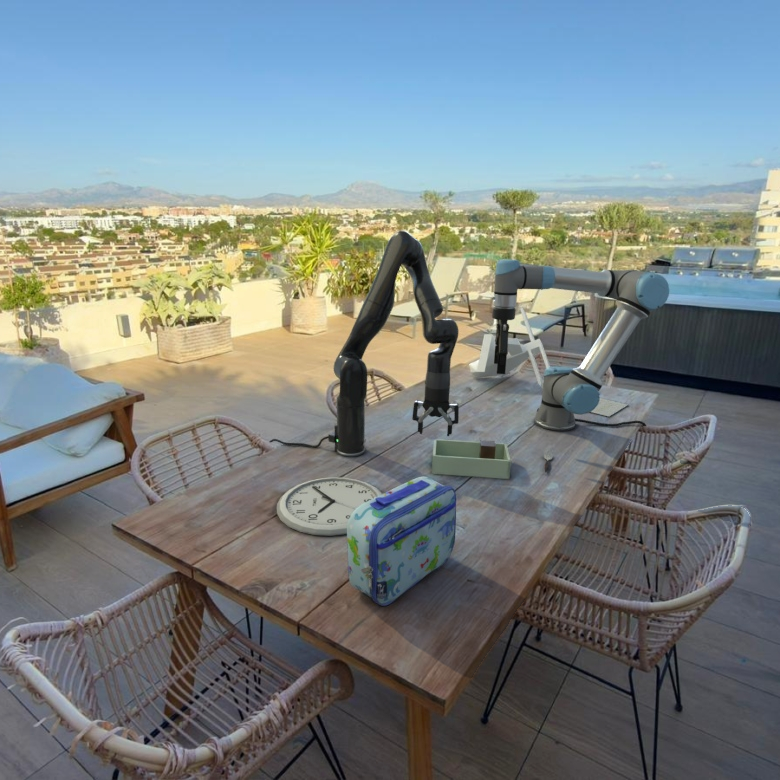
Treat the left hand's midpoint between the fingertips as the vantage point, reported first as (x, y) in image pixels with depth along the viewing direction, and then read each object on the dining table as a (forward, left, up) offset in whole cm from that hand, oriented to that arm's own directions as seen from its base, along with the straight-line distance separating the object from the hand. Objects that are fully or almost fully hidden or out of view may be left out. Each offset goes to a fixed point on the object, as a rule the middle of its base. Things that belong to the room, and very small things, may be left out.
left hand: (434, 434), depth 164 cm
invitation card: (+35, +92, -11) cm, 100 cm away
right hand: (+9, +31, +16) cm, 36 cm away
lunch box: (+19, -54, -11) cm, 58 cm away
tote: (+10, +6, -11) cm, 16 cm away
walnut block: (+15, +8, -10) cm, 20 cm away
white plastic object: (-10, +102, -11) cm, 103 cm away
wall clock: (-12, -37, -11) cm, 41 cm away
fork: (+31, +21, -11) cm, 39 cm away
